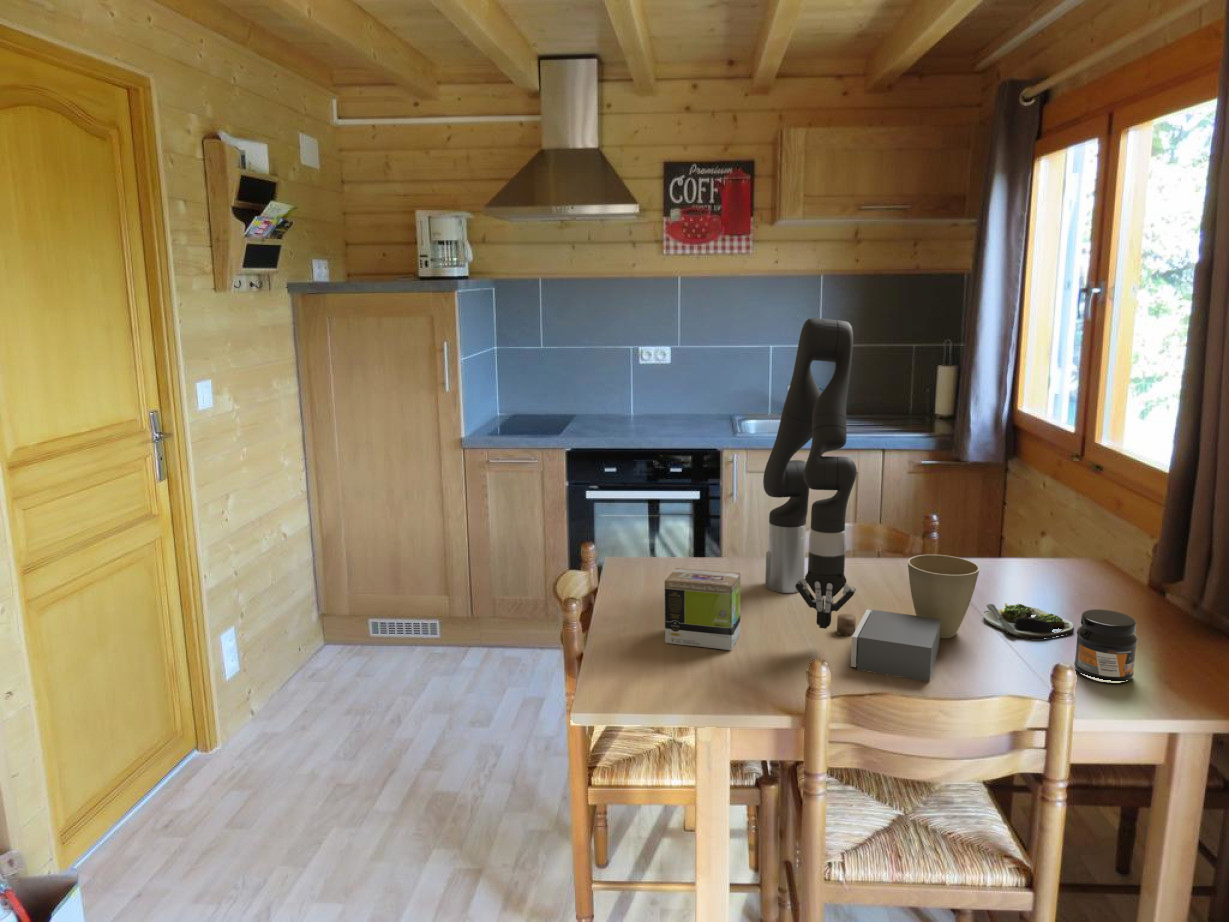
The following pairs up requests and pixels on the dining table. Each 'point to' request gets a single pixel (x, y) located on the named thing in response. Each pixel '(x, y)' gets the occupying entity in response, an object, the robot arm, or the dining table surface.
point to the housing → (899, 645)
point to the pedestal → (846, 624)
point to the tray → (856, 635)
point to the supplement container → (1106, 645)
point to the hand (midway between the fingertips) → (823, 627)
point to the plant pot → (942, 589)
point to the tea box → (702, 608)
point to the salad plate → (1027, 621)
